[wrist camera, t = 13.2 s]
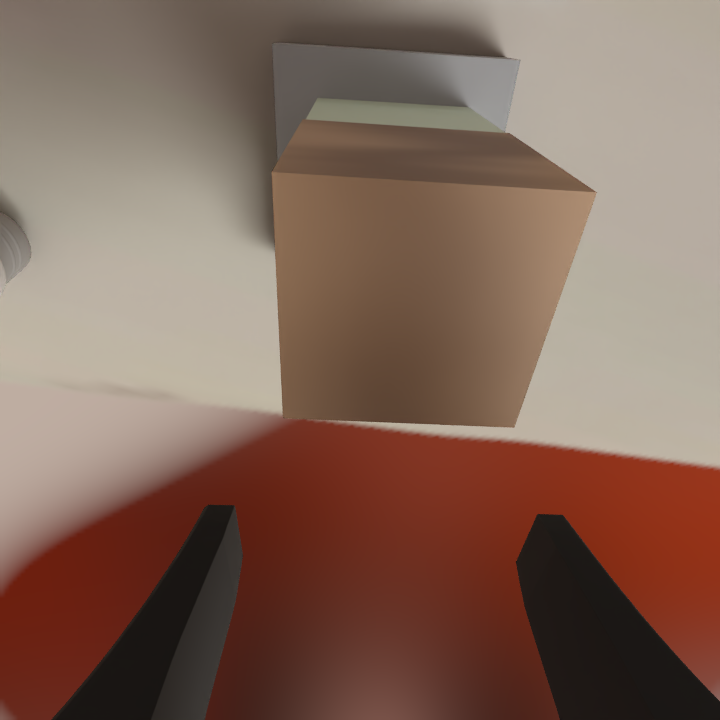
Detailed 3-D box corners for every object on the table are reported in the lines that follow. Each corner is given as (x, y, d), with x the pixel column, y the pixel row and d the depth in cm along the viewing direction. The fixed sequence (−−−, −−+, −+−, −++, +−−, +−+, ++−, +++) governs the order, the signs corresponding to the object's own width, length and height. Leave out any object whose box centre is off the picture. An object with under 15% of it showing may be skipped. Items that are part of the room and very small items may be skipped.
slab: (506, 57, 14) (520, 59, 13) (464, 267, 18) (472, 284, 17) (279, 42, 14) (272, 43, 13) (287, 258, 18) (282, 275, 17)
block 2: (509, 133, 10) (597, 192, 6) (468, 313, 13) (514, 427, 9) (303, 119, 10) (271, 171, 6) (304, 304, 13) (283, 417, 9)
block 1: (469, 107, 14) (509, 135, 10) (444, 250, 16) (470, 314, 13) (317, 97, 14) (303, 123, 10) (317, 244, 16) (305, 307, 13)
